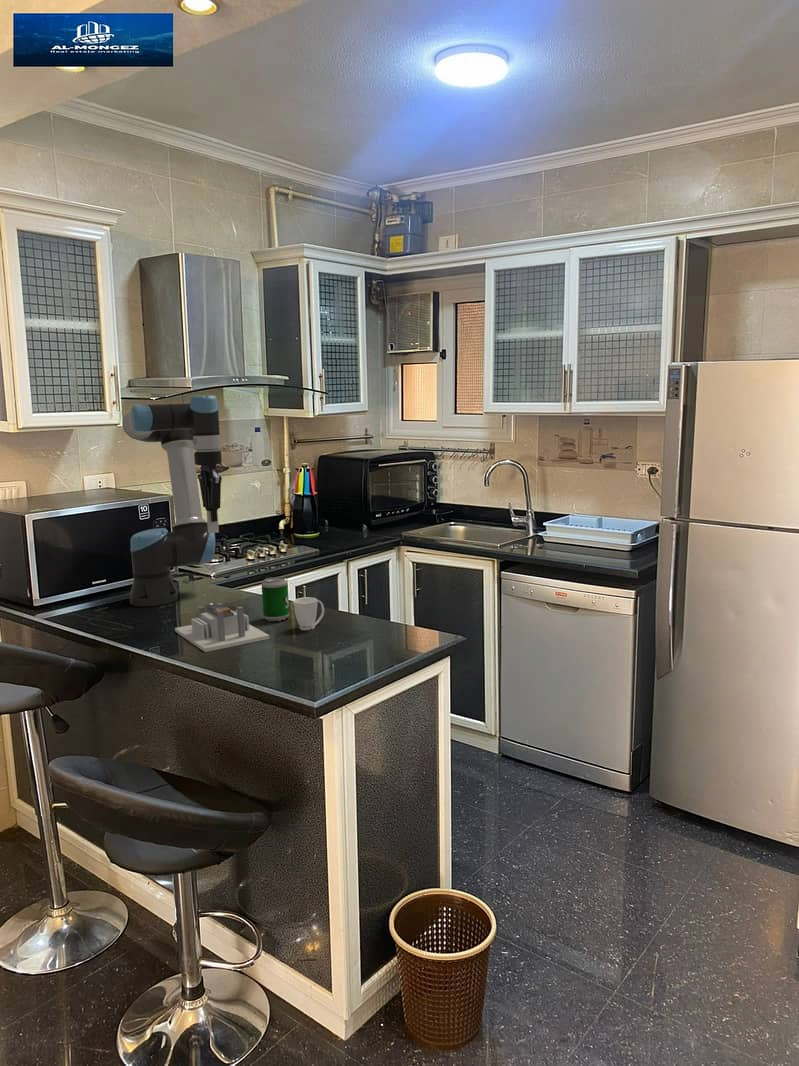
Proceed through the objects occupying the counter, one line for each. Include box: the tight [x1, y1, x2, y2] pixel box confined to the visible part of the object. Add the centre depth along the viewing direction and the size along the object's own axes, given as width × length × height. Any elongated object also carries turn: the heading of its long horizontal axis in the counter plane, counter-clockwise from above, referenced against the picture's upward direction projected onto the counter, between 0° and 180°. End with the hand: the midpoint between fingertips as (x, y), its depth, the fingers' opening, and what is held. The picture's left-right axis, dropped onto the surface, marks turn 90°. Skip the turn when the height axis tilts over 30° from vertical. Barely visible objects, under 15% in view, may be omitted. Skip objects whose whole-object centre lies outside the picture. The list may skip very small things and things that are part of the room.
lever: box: [204, 602, 234, 617], centre depth 216 cm, size 14×3×2 cm, turn 34°
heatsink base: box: [174, 602, 270, 653], centre depth 216 cm, size 24×18×9 cm
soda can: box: [261, 576, 290, 622], centre depth 230 cm, size 8×8×12 cm
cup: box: [292, 597, 325, 631], centre depth 221 cm, size 7×10×8 cm
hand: (213, 532), depth 227 cm, fingers closed
